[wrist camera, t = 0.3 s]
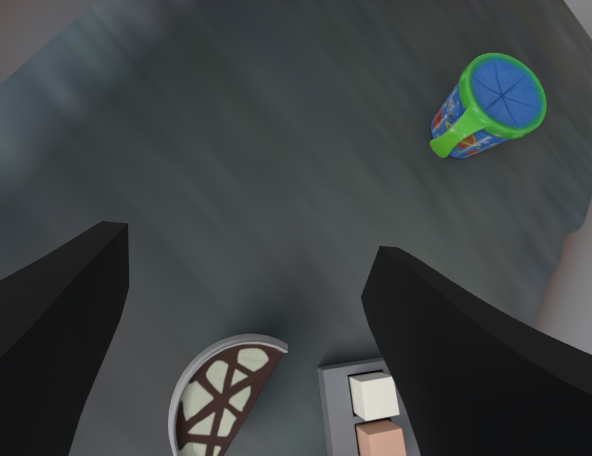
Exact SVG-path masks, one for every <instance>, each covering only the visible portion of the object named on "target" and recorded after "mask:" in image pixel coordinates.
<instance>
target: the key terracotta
mask: <svg viewBox="0 0 592 456" xmlns="http://www.w3.org/2000/svg"><path fill="white" fill-rule="evenodd" d="M355 429H356V436H357V443H358V451H359V456H406V451H405V445H404V439H403V433H402V428H400V427H399V426H397V425H395V424H394V423H392V422H390V421H389V420H387V419H381V420H376V421H371V422H366V423H361V424H355Z"/></svg>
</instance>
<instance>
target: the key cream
mask: <svg viewBox="0 0 592 456" xmlns="http://www.w3.org/2000/svg"><path fill="white" fill-rule="evenodd" d="M348 378H349V386H350V393H351V400H352V407H353V412H354V413H356V414H357V415H358V416H360V417H361V418H363V419H364V420H365V421H369V420H374V419H379V418H384V417H390V416H395V415H400V414H399V408H398V402H397V396H396V390H395V384H394V381H393V378H392V376H390V375H387V374H384V373H381V372H373V373H367V374H360V375H354V376H348Z"/></svg>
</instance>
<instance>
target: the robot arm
mask: <svg viewBox="0 0 592 456" xmlns="http://www.w3.org/2000/svg"><path fill="white" fill-rule="evenodd" d="M128 289H129V251H128V223H116V222H105V221H102V222H100V223H98V224H96V225H95V226H93V227H91V228H90V229H88V230H87V231H85V232H83V233H82V234H80V235H79V236H77V237H75V238H74V239H72V240H71V241H69V242H67V243H66V244H64V245H62V246H61V247H59V248H57V249H56V250H54V251H53V252H51V253H49V254H48V255H46V256H44V257H43V258H41V259H39V260H37V261H35V262H34V263H32V264H30V265H28V266H26V267H24V268H23V269H21V270H19V271H17V272H15V273H13V274H12V275H10V276H8V277H6V278H4V279H2V280H1V281H0V456H68V454H69V451H70V448H71V445H72V441H73V438H74V435H75V432H76V429H77V425H78V422H79V419H80V416H81V413H82V411H83V408H84V405H85V403H86V400H87V397H88V395H89V393H90V390H91V388H92V386H93V383H94V381H95V379H96V376H97V374H98V371H99V369H100V367H101V364H102V362H103V360H104V357H105V355H106V353H107V350H108V348H109V345H110V343H111V341H112V338H113V336H114V333H115V331H116V329H117V326H118V324H119V321H120V319H121V315H122V311H123V308H124V304H125V300H126V297H127V293H128ZM361 300H362V304H363V307H364V311H365V315H366V318H367V321H368V324H369V327H370V330H371V332H372V334H373V336H374V339H375V341H376V343H377V346H378V348H379V350H380V352H381V354H382V357H383V359H384V361H385V363H386V365H387V367H388V370H389V372H390V374H391V376H392V378H393V381H394V383H395V385H396V387H397V389H398V392H399V394H400V396H401V399H402V401H403V404H404V406H405V409H406V412H407V415H408V418H409V421H410V424H411V427H412V430H413V433H414V436H415V439H416V442H417V445H418V448H419V451H420V455H421V456H592V355H591V354H589V353H586V352H584V351H581V350H579V349H577V348H575V347H572V346H570V345H568V344H565V343H564V342H561V341H559V340H556V339H555V338H552V337H550V336H548V335H546V334H544V333H542V332H540V331H538V330H536V329H534V328H532V327H530V326H528V325H526V324H524V323H522V322H520V321H518V320H516V319H515V318H513V317H511V316H509V315H507V314H505V313H503V312H502V311H500V310H498V309H496V308H495V307H493V306H491V305H489V304H488V303H486V302H484V301H483V300H481V299H479V298H478V297H476V296H474V295H473V294H471V293H470V292H468V291H466V290H465V289H463V288H462V287H460V286H459V285H457V284H456V283H454V282H452V281H451V280H449V279H448V278H446V277H445V276H443V275H442V274H440V273H439V272H437V271H436V270H434V269H433V268H431V267H430V266H428V265H427V264H425V263H424V262H422V261H420V260H419V259H417V258H416V257H414V256H412V255H411V254H409V253H407V252H405V251H404V250H402V249H400V248H397V247H386V246H380V247H379V250H378V252H377V255H376V258H375V260H374V263H373V266H372V269H371V271H370V274H369V277H368V280H367V282H366V285H365V288H364V290H363V293H362V296H361Z"/></svg>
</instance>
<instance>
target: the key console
mask: <svg viewBox="0 0 592 456" xmlns="http://www.w3.org/2000/svg"><path fill="white" fill-rule="evenodd" d="M368 371H374V372H381V373H384V374H387V375H390V376H391V374H390V372H389V370H388V367H387V365H386V363H385V361H384V359H383V357H380V358H373V359H367V360H360V361H354V362H347V363H341V364H334V365H328V366H321V367H317V373H318V381H319V389H320V398H321V406H322V414H323V423H324V431H325V439H326V448H327V456H358V449H357V441H356V434H355V427H354V424H356V423H361V422H366V421H365V420H364V419H363V418H361V417H360V416H358V415H357V414H356V413H354V412H353V410H352V405H351V398H350V390H349V383H348V376H347V375H350V374H356V373H362V372H368ZM394 384H395V383H394ZM395 390H396V396H397V402H398V408H399V414H400V415H395V416H390V417H384V418H382V419H387V420H389V421H390V422H392V423H394V424H395V425H397V426H399V427H400V428H402V433H403V439H404V445H405V451H406V456H420V451H419V448H418V445H417V442H416V439H415V436H414V433H413V430H412V427H411V424H410V421H409V418H408V415H407V412H406V409H405V406H404V404H403V401H402V399H401V396H400V394H399V392H398V389H397V387H396V385H395ZM379 419H381V418H379ZM374 420H376V419H374ZM369 421H371V420H369Z"/></svg>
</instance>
